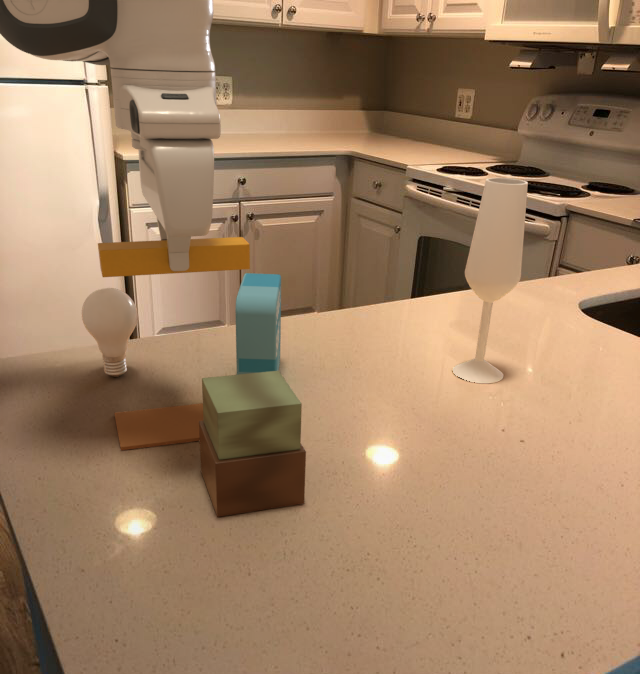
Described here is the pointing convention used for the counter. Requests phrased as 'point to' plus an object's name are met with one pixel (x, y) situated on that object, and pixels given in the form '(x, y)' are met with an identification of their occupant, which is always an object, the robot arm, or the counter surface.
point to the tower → (251, 443)
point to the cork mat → (159, 426)
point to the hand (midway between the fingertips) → (175, 263)
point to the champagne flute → (494, 262)
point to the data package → (258, 323)
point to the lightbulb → (110, 325)
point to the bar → (155, 258)
